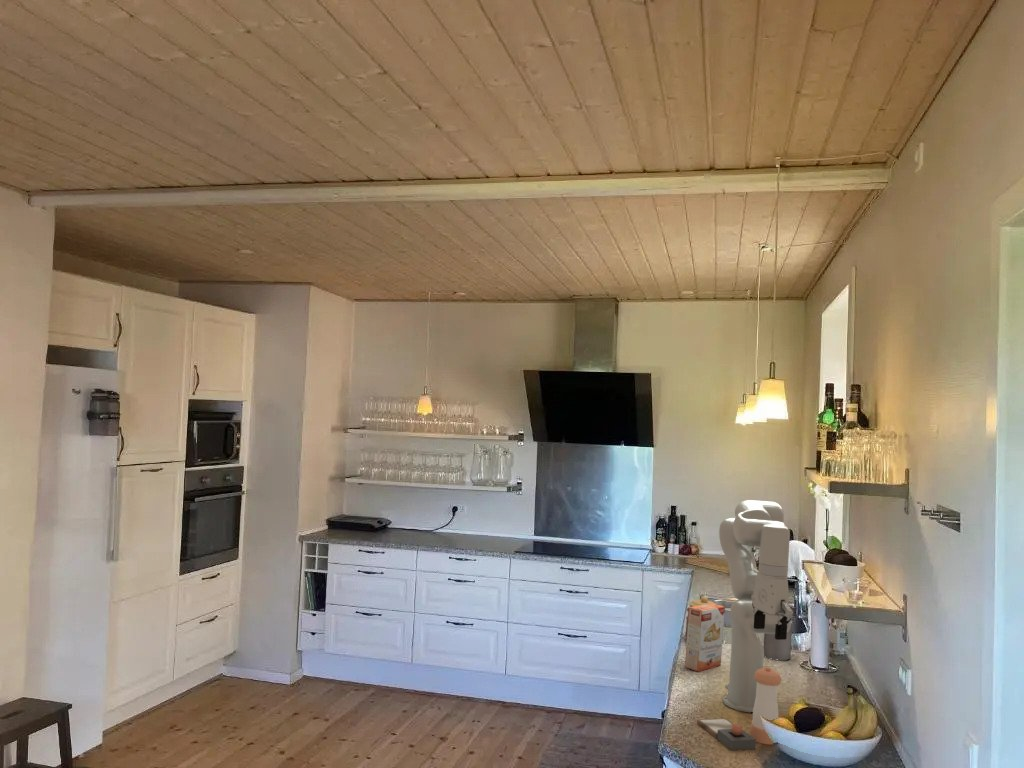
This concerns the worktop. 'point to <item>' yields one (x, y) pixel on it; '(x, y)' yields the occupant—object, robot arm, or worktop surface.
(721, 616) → the cracker box
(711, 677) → the worktop surface
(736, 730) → the button
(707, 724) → the drawing board
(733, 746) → the button housing
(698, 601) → the canister
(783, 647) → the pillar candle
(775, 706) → the salt shaker
